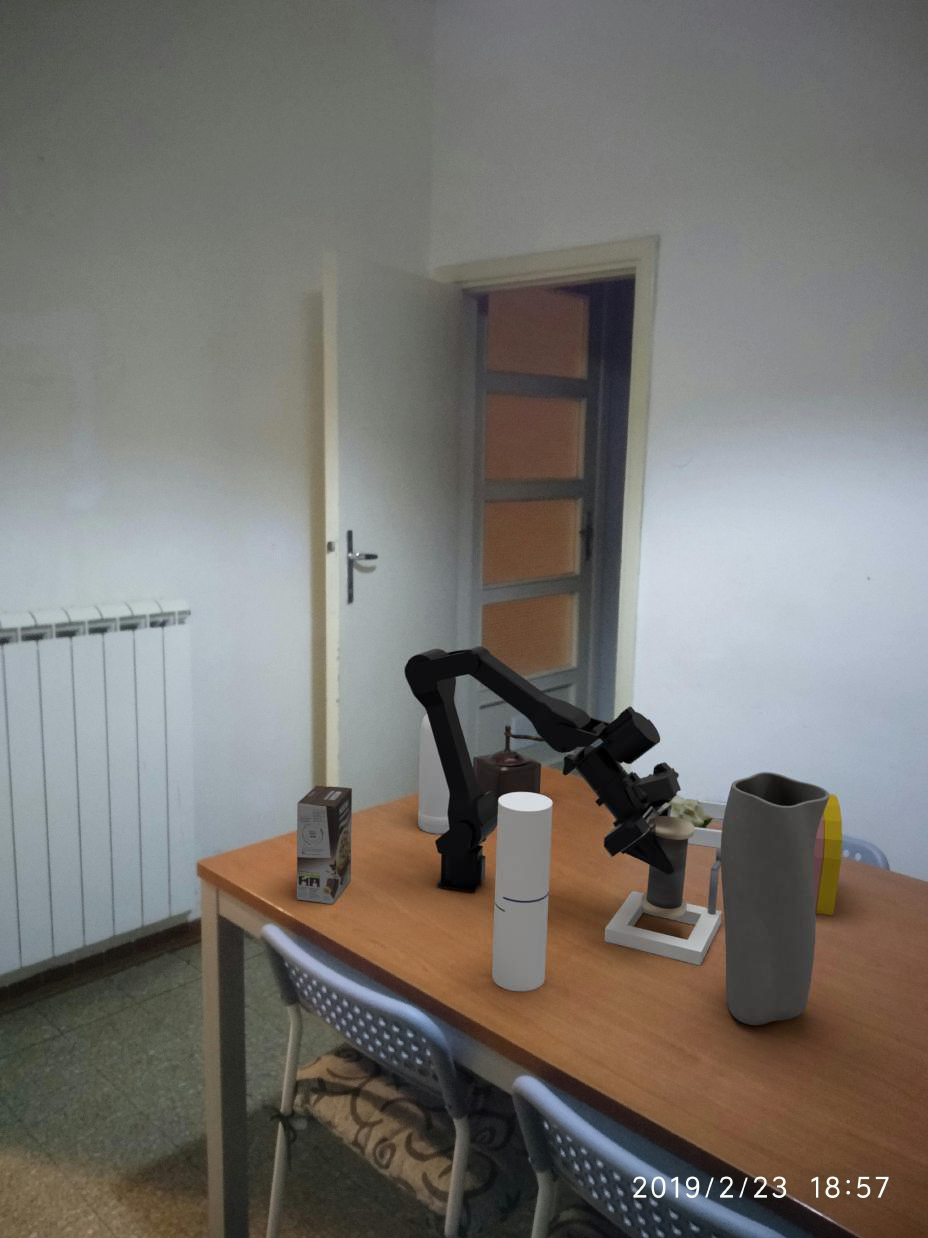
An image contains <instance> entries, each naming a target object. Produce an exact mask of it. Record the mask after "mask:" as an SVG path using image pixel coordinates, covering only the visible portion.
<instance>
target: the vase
mask: <svg viewBox="0 0 928 1238" xmlns="http://www.w3.org/2000/svg"><path fill="white" fill-rule="evenodd" d="M829 794H830V793H829V791H827V790H826V789H825V788H823V787H821V786H819V785H816V784H812V783H808V782H804V781H801V780H797V779H793V778H791V777H788V776H786V775H783V774H780V773H776V772H769V771H762V772H758V773H754V774H752V775H750V776H747V777H744V778H740V779H737V780H735V781H733V782H732V783H731V785H730V790H729V793H728V796H727V802H726V809H725V813H724V819H722V820H723V821H722V825H721V826H722V827H721V830H722V835H721V848H720V849H721V867H720V871H721V872H720V873H721V875H720V876H721V889H722V902H723V903H722V904H723V917H724V919H723V920H724V939H725V940H724V941H725V995H726V1001H727V1006H728V1010H729V1012H730V1014H731V1015H732V1016H733V1017H734V1018H735V1019H736V1020H737V1021H739V1022H741V1023H742V1024H746V1025H750V1026H762V1025H766V1024H768V1023H771V1022H778V1021H786V1020H791V1019H795V1018H796V1017H797V1016H799V1015H801V1014H802V1012H804V1011H805V1009H806V1007H807V1004H808V1000H809V994H810V987H811V983H812V977H813V969H814V961H815V947H816V933H817V932H816V927H817V926H816V924H817V923H816V922H817V919H816V912H815V892H814V866H813V863H814V847H815V841H816V835H817V831H818V828H819V824H820V821H821V818H822V815H823V813H824V810H825V807H826V805H827V802H828V800H829V797H830V795H829Z"/></svg>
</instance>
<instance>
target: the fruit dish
mask: <svg viewBox="0 0 928 1238" xmlns="http://www.w3.org/2000/svg"><path fill="white" fill-rule="evenodd" d="M697 800H698V801H699V802H700V805H701V807H702V809H703V811H704V812H705V813H706V814H708V815H709V816H710V817H712V819H718V820H723V819H724V813H725V809H726V804H727V802H726V803H724V802H716V801H710V800H699V799H697ZM721 835H722V829H720V830H719V829H712V828H707V827H706V828H698V827H694V835H693V836H692V837H691V838H688V844H689V845H697V846H703V847H711V848H716V849H721Z"/></svg>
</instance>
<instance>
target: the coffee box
mask: <svg viewBox="0 0 928 1238" xmlns="http://www.w3.org/2000/svg"><path fill="white" fill-rule="evenodd" d="M352 792H353V789H352V788H351V787H344V786H343V787H342V786H341V787H340V786H332V785H331V786H326V785H324V786H323V785H315V786H314V787H313V788H312V789H311V790H310V791H309V792H308V793H307V794H306V795H304V797H302V798H301V799H300V800H299V801H297V807H296V808H297V809H296V811H297V814H296V815H297V817H296V818H297V820H296V823H297V824H296V825H297V826H296V827H297V829H296V832H297V833H296V836H297V837H296V899H297V900H300V901H308V902H313V903H320V904H329V905H333V904H335V902H336V901H337V899H338V898H339V897H340V895H342V893H343V891H344V890H345V889H346V888H347V886H348V885H349V884H350V882H351V881H352V819H353V817H352V814H353V813H352V811H353V809H352V808H353V807H352V806H353V804H352V802H353V800H352V799H353V793H352Z"/></svg>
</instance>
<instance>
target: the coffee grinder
mask: <svg viewBox="0 0 928 1238" xmlns="http://www.w3.org/2000/svg"><path fill="white" fill-rule="evenodd" d="M504 730H505V731H504V733H503V735H504V737H505V739H504V740H505V743H504V749H501V750H498V751H497V752H494V753H489V754H484V755H478V756H473V759H472V761H473V762H472V766H473V770H474V773H475V777H476V780H477V783H478V785H479V786H480V787H481V788H482V790H483V791H484V792H485V793H487V792H490V791H493V793H494V797H495V804H496V806H497V809H498V799H499V798H500V797H501V796H502V795H505V794H508V793H514V792H530V793H536V794H541V779H542V778H541V776H542V774H541V773H542V763H541V762H539V761H537V760H534V759H533V758H531V757H528V756H526V755H524V754H521V753H520V752H517V751H516V750H512V749H511V746H510V743H511V738H512V739H518V740H531V741H536V742H539V743H540V742H541V743H542V742H545V741H544V740H543V739H542V738H541V737H540V736H539V737H538V736H533V735H529V734H516V733H515V734H514V733H512V732H511V730H512V727H511V725H508V724H507V725H505V726H504Z"/></svg>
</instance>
